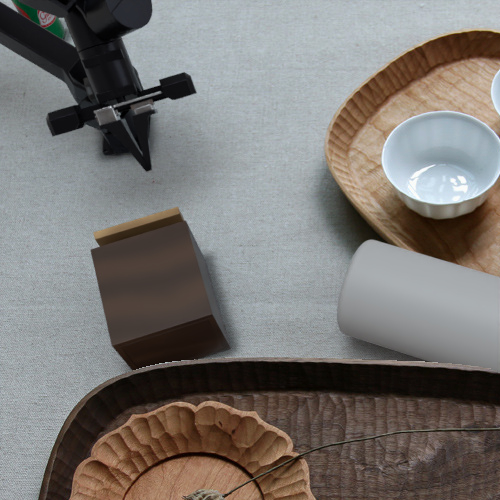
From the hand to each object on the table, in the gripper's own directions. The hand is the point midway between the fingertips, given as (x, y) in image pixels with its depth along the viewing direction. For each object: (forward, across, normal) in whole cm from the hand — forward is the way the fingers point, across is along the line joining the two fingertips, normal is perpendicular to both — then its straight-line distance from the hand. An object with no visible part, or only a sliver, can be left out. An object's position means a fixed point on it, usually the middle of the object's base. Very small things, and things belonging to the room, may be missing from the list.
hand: (149, 170), depth 107 cm
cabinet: (+19, +4, +5) cm, 20 cm away
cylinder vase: (+20, -20, +15) cm, 32 cm away
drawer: (+15, +4, +2) cm, 16 cm away
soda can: (-22, +10, -36) cm, 43 cm away
